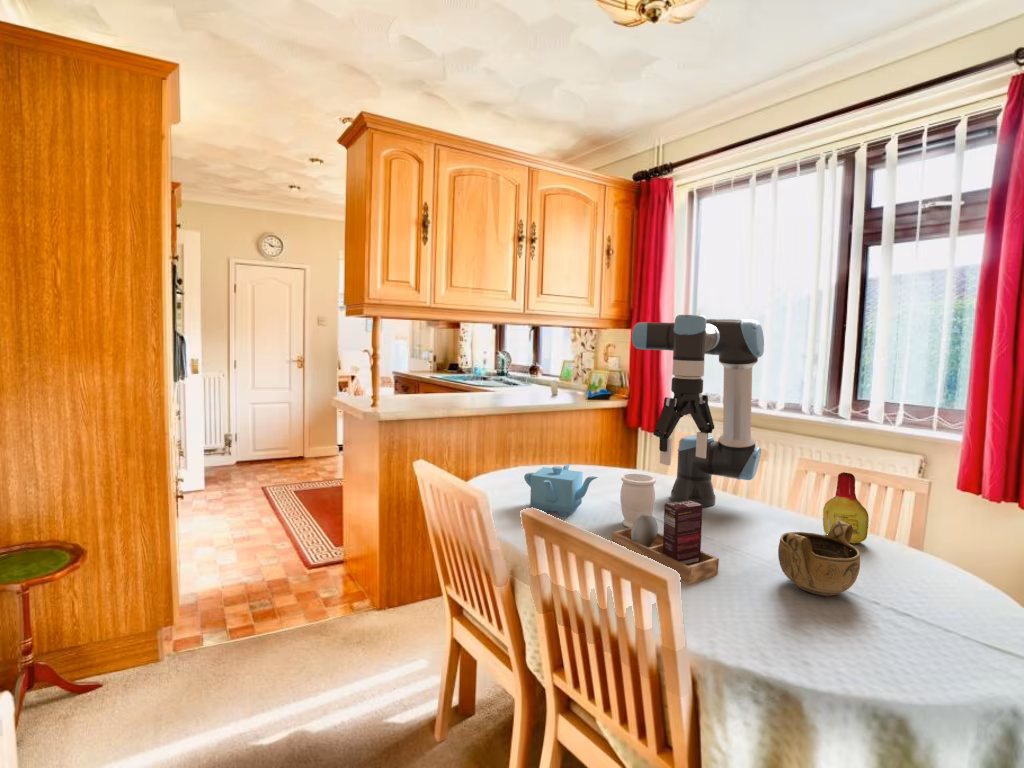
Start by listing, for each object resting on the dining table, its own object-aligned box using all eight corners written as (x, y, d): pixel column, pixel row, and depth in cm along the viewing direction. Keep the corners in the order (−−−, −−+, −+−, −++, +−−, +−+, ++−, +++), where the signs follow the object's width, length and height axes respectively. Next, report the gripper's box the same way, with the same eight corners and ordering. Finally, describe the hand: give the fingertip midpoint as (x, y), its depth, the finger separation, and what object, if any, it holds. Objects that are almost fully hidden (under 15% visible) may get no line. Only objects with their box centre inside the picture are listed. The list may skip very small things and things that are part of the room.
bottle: (816, 534, 166) (822, 469, 164) (828, 531, 170) (833, 467, 168) (859, 548, 156) (865, 479, 154) (870, 544, 160) (876, 476, 158)
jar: (654, 532, 165) (656, 483, 163) (618, 529, 167) (621, 480, 165) (652, 520, 175) (655, 474, 174) (619, 517, 177) (621, 471, 176)
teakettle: (519, 505, 188) (520, 462, 186) (568, 499, 195) (569, 458, 194) (544, 524, 170) (546, 477, 169) (597, 516, 178) (598, 471, 176)
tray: (639, 538, 160) (641, 505, 159) (717, 574, 138) (720, 535, 137) (611, 546, 154) (612, 511, 153) (688, 584, 132) (690, 543, 131)
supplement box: (687, 558, 144) (690, 499, 142) (700, 566, 140) (704, 504, 138) (660, 563, 141) (663, 502, 139) (673, 571, 136) (676, 508, 135)
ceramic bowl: (824, 617, 118) (830, 548, 116) (753, 584, 132) (757, 523, 131) (877, 592, 130) (883, 530, 128) (807, 565, 144) (811, 509, 142)
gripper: (707, 373, 148) (702, 451, 150) (640, 377, 134) (637, 463, 137) (731, 376, 142) (726, 457, 144) (665, 380, 128) (660, 470, 130)
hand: (683, 460), depth 140 cm, fingers open, 13 cm apart
